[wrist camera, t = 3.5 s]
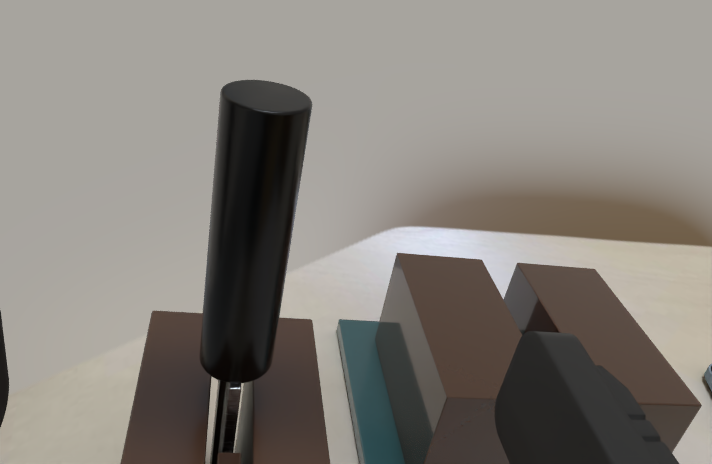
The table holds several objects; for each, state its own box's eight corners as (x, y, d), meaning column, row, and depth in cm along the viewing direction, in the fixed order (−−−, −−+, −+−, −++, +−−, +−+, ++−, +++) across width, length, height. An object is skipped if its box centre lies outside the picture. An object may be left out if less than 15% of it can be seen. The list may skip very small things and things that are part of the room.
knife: (241, 587, 28) (316, 120, 17) (180, 589, 28) (218, 107, 17) (242, 525, 31) (308, 83, 20) (186, 526, 30) (222, 72, 19)
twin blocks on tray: (693, 538, 35) (766, 437, 31) (373, 545, 31) (410, 430, 27) (570, 342, 48) (610, 254, 44) (336, 330, 45) (357, 232, 41)
